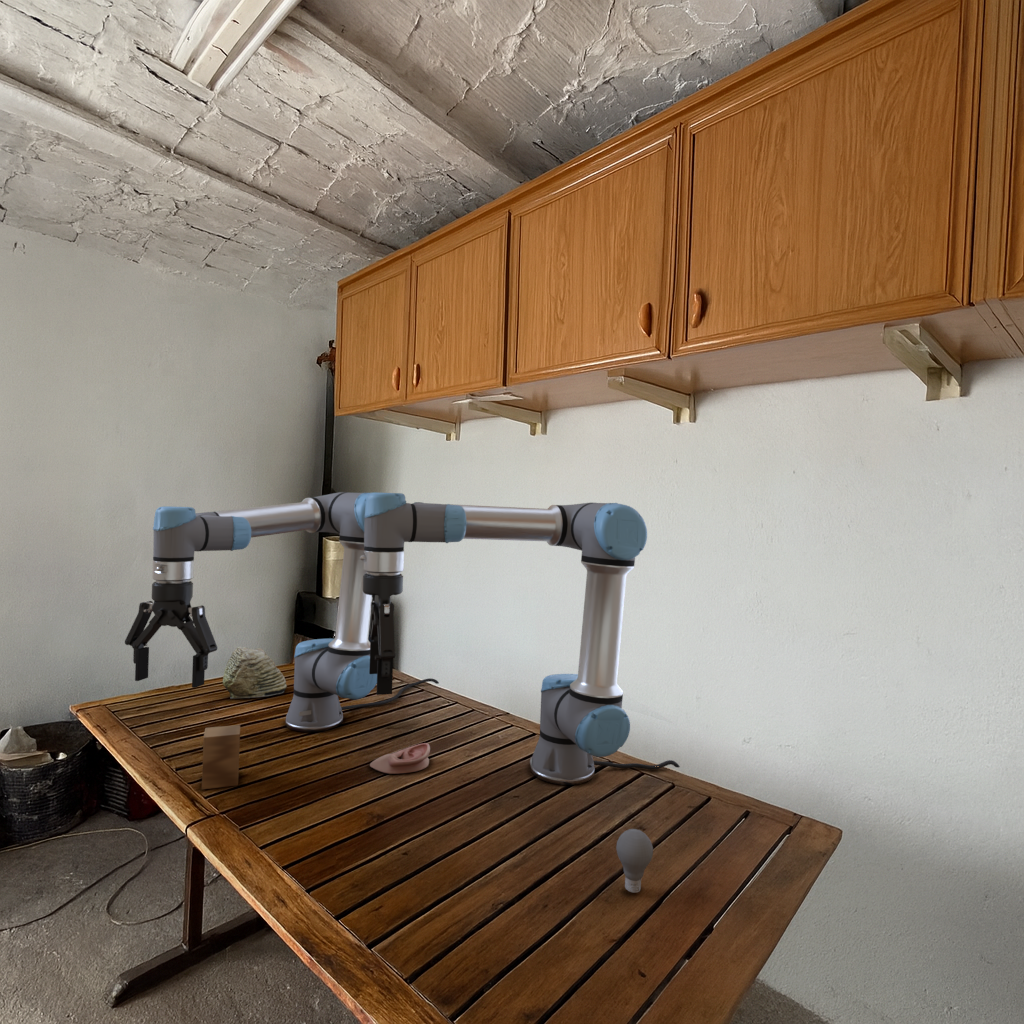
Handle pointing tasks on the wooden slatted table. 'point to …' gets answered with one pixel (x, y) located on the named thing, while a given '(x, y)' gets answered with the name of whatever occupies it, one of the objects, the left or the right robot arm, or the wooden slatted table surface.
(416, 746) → the anatomical model
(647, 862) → the light bulb
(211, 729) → the block
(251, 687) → the fossil
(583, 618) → the right robot arm
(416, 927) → the wooden slatted table surface
